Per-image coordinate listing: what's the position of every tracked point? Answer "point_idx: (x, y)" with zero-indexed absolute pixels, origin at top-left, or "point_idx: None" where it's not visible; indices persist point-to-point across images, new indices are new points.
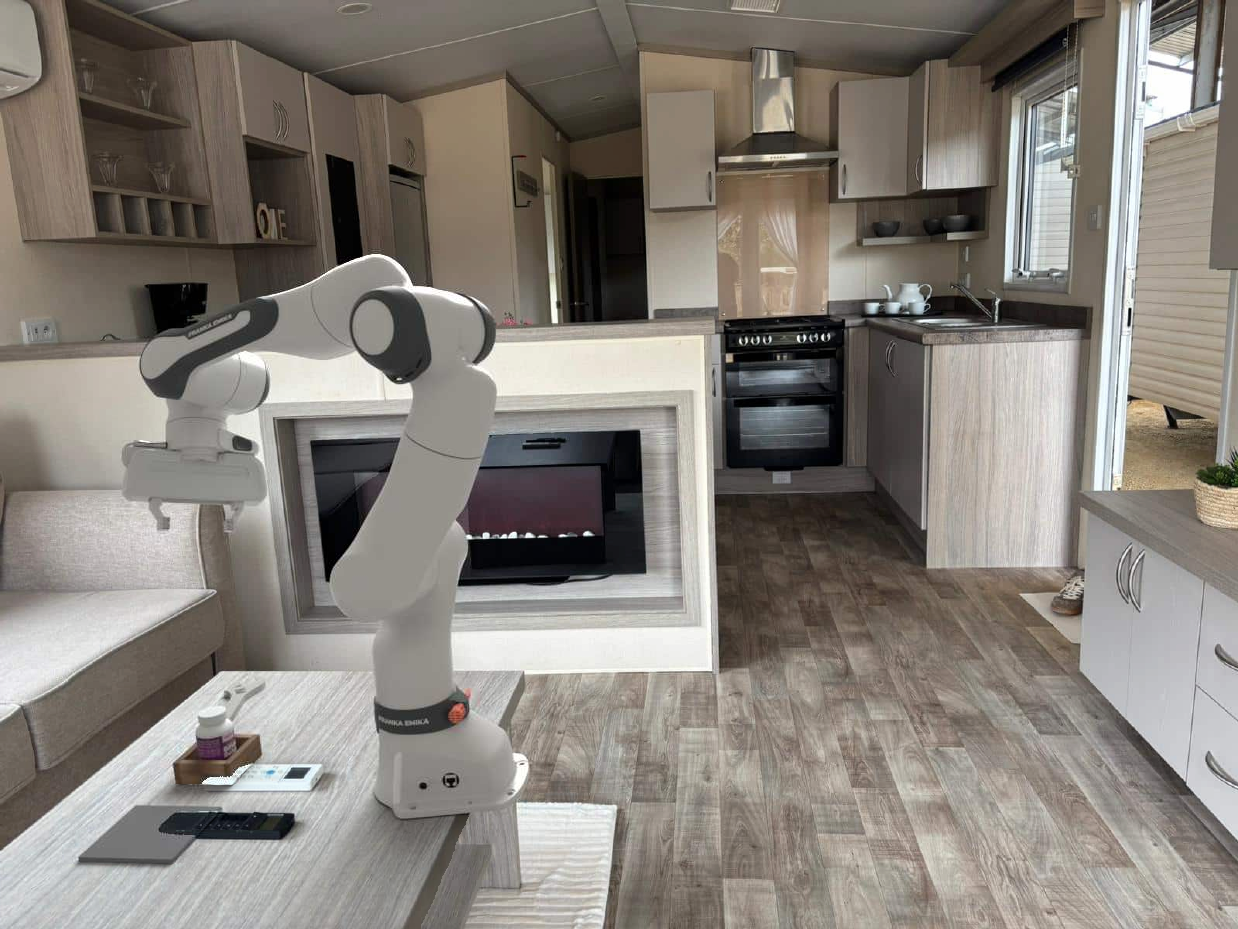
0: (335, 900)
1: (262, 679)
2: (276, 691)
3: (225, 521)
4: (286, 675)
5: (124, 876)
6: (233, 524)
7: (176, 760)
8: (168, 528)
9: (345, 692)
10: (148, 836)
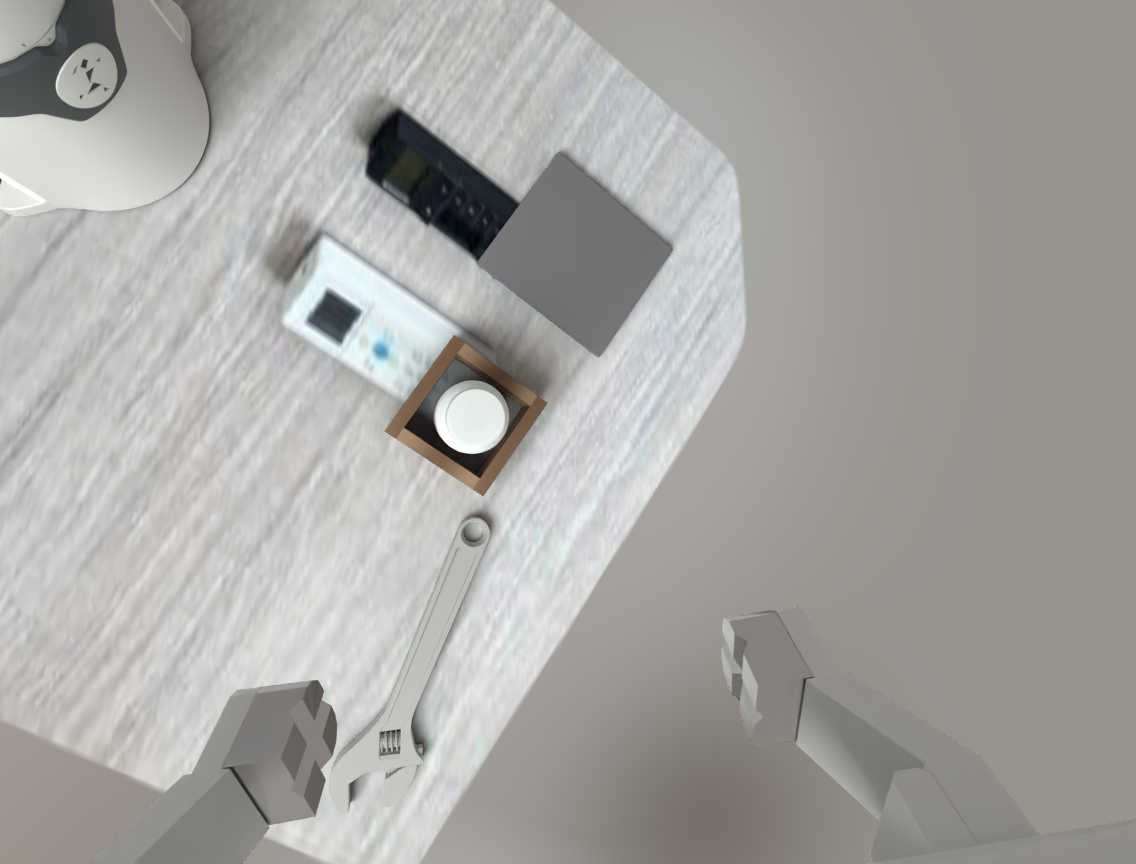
0: None
1: (334, 786)
2: None
3: (298, 763)
4: None
5: (616, 168)
6: (241, 718)
7: (540, 410)
8: (732, 616)
9: (155, 644)
10: (586, 241)
